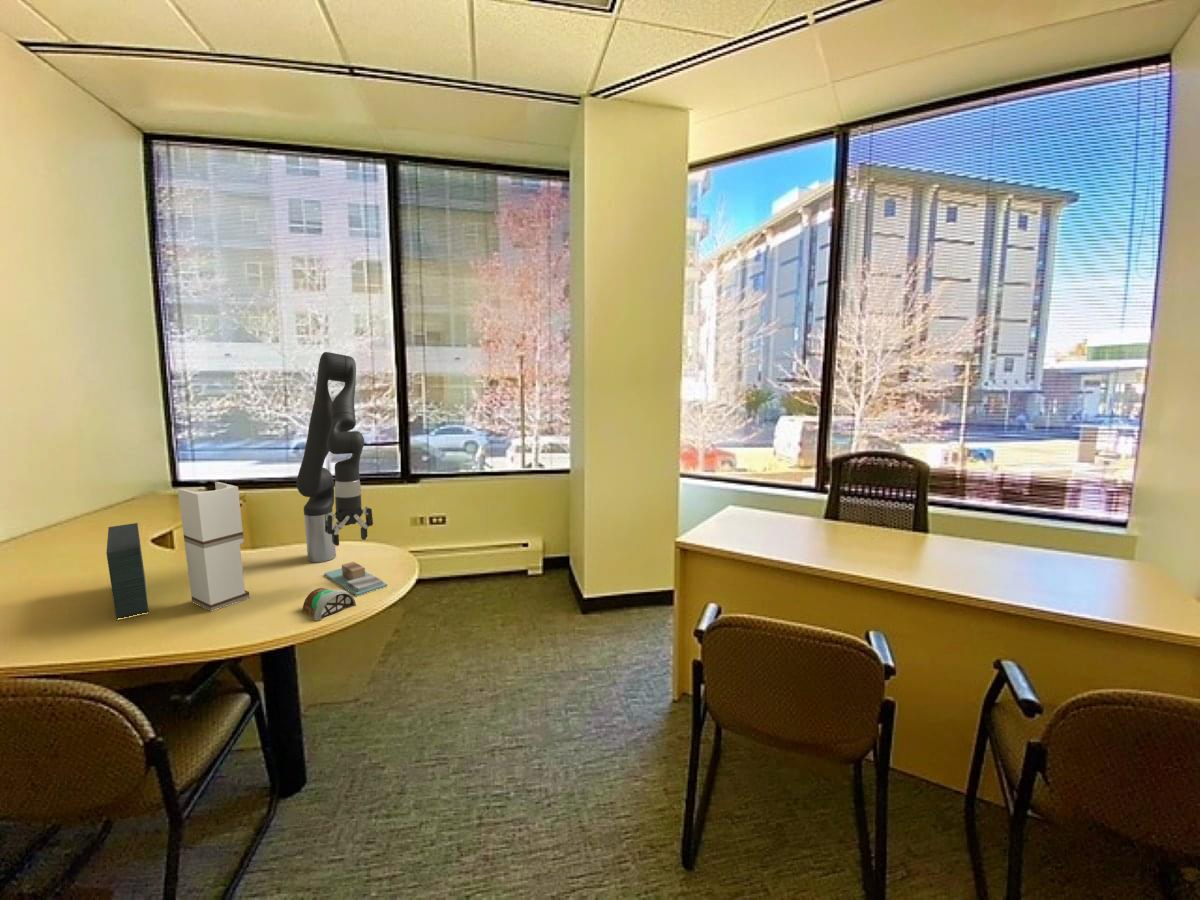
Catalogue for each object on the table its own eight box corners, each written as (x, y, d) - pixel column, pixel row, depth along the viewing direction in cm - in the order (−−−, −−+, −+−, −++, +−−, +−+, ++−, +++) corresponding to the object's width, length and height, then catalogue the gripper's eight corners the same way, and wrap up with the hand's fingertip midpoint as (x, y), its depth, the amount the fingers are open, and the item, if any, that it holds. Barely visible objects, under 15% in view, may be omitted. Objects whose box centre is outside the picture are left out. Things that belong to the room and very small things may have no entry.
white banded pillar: (249, 598, 169) (238, 486, 163) (211, 611, 160) (197, 494, 154) (230, 589, 175) (218, 481, 169) (192, 602, 166) (177, 488, 160)
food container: (335, 578, 169) (356, 585, 164) (336, 597, 170) (357, 604, 165) (296, 592, 159) (317, 600, 154) (297, 612, 160) (318, 621, 155)
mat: (324, 575, 187) (324, 573, 187) (353, 567, 194) (353, 565, 194) (356, 596, 171) (356, 594, 171) (387, 586, 178) (387, 584, 178)
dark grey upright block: (117, 587, 176) (108, 527, 173) (145, 581, 181) (137, 522, 177) (116, 621, 154) (106, 552, 151) (148, 613, 159) (139, 547, 155)
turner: (336, 578, 183) (335, 566, 182) (360, 571, 189) (359, 560, 188) (358, 592, 172) (357, 580, 171) (383, 584, 178) (382, 572, 177)
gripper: (365, 487, 184) (367, 534, 187) (320, 494, 174) (322, 544, 176) (375, 492, 179) (377, 540, 181) (329, 499, 168) (331, 550, 171)
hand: (350, 542), depth 179 cm, fingers open, 8 cm apart
